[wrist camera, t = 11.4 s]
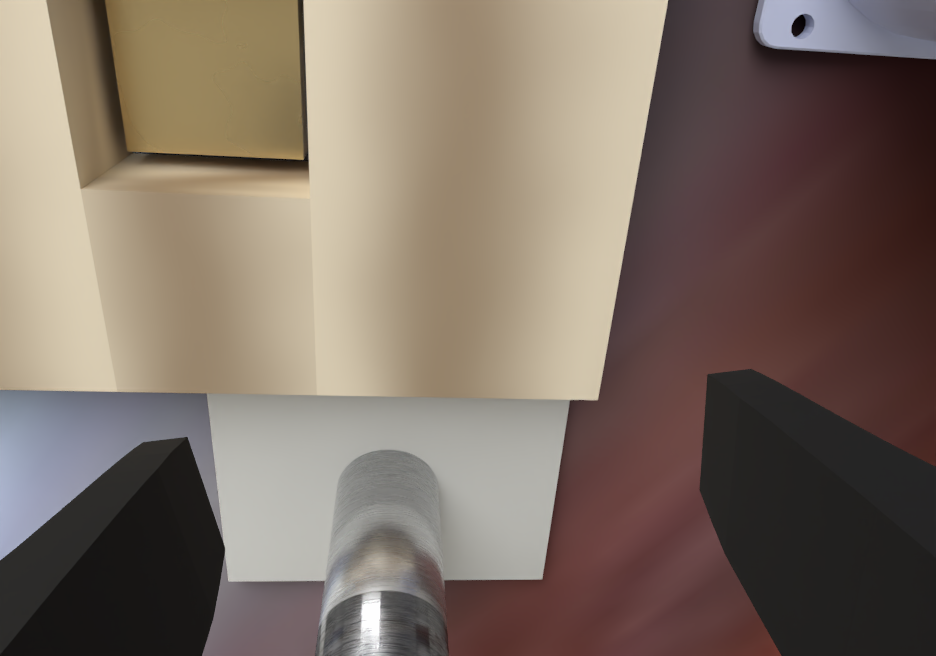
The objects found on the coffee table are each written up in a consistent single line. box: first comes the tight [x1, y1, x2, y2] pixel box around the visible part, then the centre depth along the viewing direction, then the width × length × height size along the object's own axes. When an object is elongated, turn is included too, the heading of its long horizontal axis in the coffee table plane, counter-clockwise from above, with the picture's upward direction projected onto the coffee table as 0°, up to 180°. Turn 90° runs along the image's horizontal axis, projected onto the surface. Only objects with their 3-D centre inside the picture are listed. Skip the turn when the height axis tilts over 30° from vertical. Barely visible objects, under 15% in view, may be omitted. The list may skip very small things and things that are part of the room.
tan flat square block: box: [105, 0, 308, 160], centre depth 15 cm, size 4×4×1 cm
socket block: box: [0, 0, 668, 400], centre depth 15 cm, size 18×14×3 cm
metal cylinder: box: [315, 450, 449, 656], centre depth 18 cm, size 3×3×7 cm
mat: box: [207, 393, 570, 582], centre depth 22 cm, size 10×7×1 cm
